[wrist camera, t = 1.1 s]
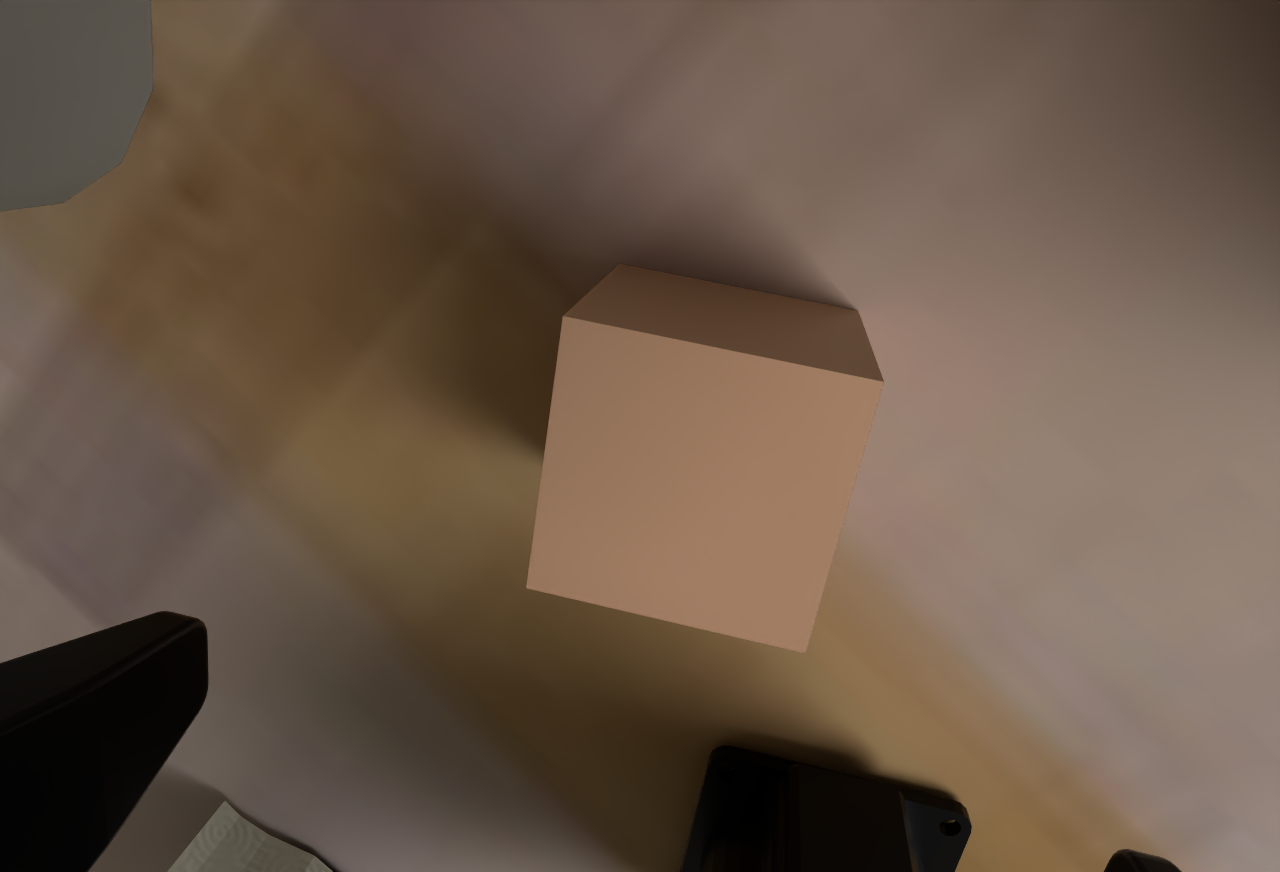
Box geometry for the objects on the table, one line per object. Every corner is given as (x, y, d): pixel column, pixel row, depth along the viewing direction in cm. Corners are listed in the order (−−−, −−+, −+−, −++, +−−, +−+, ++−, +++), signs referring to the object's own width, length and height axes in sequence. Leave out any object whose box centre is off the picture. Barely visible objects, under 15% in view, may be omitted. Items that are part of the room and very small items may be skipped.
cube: (800, 523, 19) (805, 653, 15) (586, 477, 20) (526, 588, 15) (857, 310, 18) (884, 382, 13) (619, 262, 18) (562, 315, 13)
